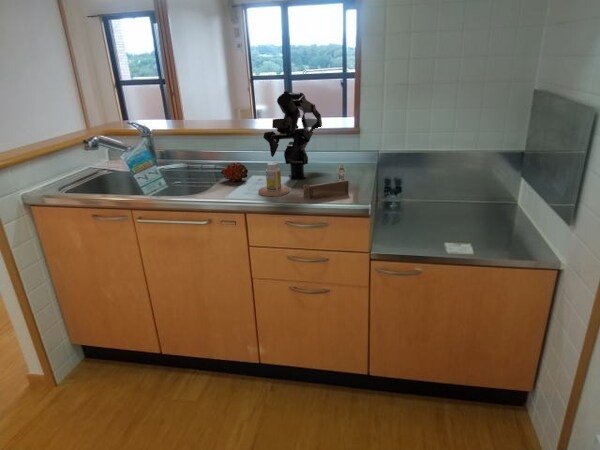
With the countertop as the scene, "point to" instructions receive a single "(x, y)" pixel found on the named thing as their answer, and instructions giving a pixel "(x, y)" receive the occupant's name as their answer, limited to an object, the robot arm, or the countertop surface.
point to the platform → (341, 172)
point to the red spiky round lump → (235, 172)
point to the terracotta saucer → (281, 192)
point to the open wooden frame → (326, 189)
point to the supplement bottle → (273, 177)
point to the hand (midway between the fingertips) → (281, 156)
